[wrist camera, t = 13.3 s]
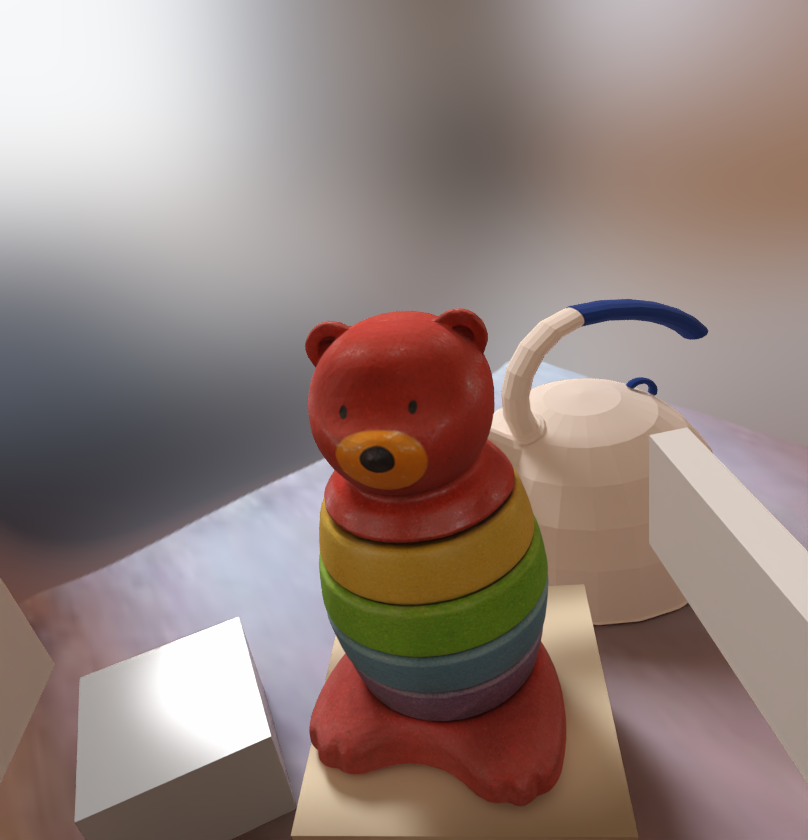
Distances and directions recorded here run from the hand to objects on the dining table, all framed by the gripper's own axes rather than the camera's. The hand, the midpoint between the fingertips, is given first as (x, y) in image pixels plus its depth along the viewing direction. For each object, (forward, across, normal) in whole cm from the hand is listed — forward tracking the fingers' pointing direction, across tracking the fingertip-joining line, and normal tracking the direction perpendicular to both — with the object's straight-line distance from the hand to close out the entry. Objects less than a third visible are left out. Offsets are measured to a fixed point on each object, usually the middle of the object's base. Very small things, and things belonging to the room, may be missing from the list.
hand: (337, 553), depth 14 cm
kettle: (+29, +14, -26) cm, 41 cm away
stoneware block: (+14, -13, -25) cm, 31 cm away
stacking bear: (+10, +1, -17) cm, 20 cm away
